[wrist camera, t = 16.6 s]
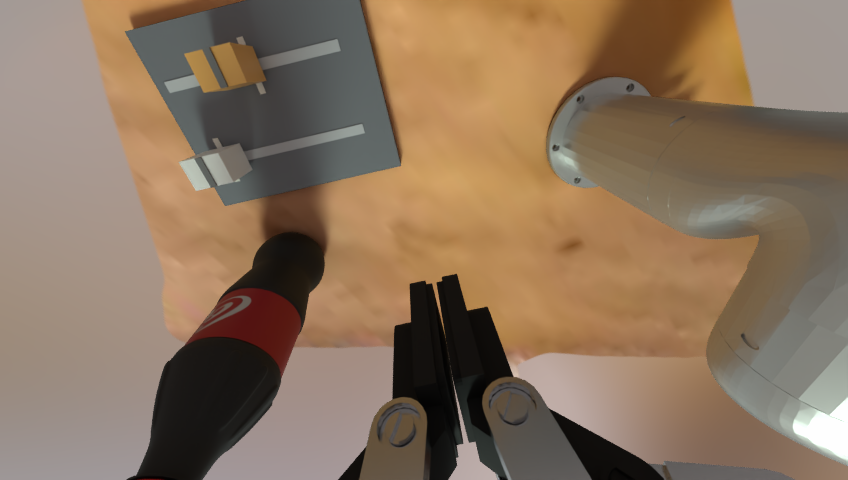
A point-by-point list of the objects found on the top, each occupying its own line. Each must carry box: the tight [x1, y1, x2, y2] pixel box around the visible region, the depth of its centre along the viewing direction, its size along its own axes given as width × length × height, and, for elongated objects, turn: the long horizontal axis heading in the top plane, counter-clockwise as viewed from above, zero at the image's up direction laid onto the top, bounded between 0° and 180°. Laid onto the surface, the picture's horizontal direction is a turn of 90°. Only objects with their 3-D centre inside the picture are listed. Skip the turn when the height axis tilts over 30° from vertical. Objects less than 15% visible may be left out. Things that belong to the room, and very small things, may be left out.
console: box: [125, 0, 401, 206], centre depth 33 cm, size 22×18×1 cm
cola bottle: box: [127, 232, 325, 480], centre depth 29 cm, size 8×8×30 cm
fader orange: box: [184, 42, 267, 93], centre depth 28 cm, size 4×3×5 cm
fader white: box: [179, 143, 252, 191], centre depth 32 cm, size 4×3×5 cm
